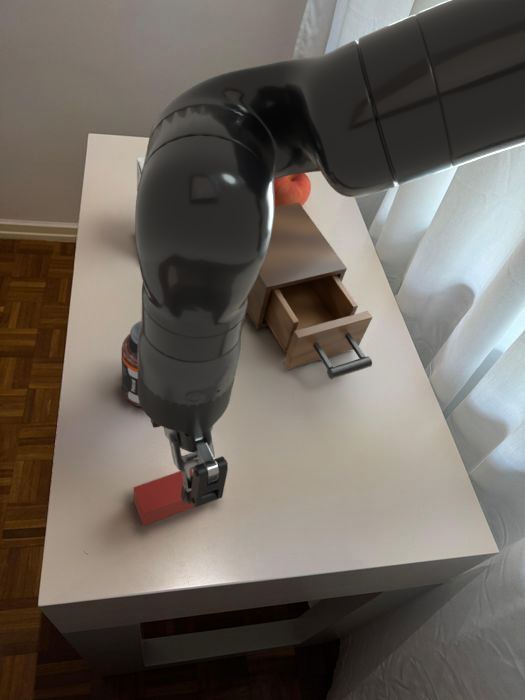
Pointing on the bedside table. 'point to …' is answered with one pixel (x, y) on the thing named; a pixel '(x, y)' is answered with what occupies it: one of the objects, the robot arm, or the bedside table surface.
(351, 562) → the bedside table surface
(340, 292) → the drawer
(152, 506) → the red rectangular brick
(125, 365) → the supplement bottle
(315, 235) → the cabinet
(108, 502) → the bedside table surface
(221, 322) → the robot arm
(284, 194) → the apple
